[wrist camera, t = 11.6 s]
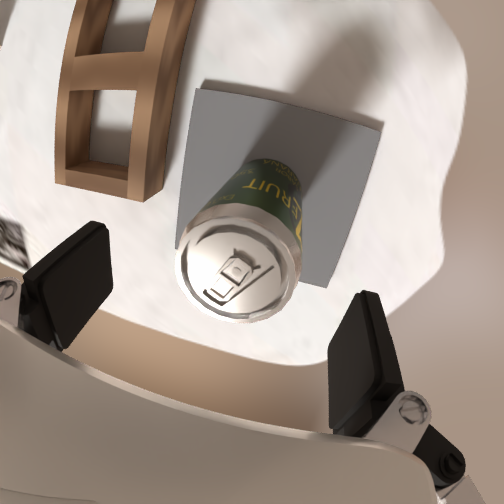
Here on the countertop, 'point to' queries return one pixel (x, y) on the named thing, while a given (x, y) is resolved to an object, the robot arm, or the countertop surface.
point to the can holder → (119, 78)
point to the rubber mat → (287, 152)
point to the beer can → (245, 245)
